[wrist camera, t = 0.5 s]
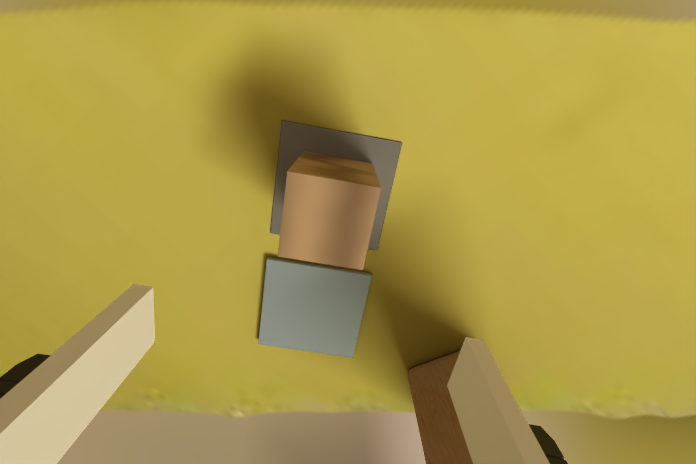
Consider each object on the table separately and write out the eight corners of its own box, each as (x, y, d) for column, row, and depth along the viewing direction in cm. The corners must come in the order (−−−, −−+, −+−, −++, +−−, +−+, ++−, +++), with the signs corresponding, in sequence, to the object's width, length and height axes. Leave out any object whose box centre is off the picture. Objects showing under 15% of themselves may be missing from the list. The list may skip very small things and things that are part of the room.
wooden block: (404, 367, 44) (443, 561, 26) (477, 340, 43) (575, 526, 24) (431, 417, 48) (483, 620, 29) (500, 394, 46) (602, 594, 28)
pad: (259, 341, 43) (258, 344, 42) (268, 256, 39) (266, 259, 38) (352, 354, 44) (352, 357, 43) (371, 273, 39) (371, 276, 39)
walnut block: (295, 215, 37) (277, 256, 27) (304, 150, 34) (287, 171, 25) (359, 226, 37) (362, 270, 28) (372, 163, 34) (381, 187, 25)
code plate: (270, 232, 37) (270, 233, 37) (282, 120, 33) (281, 120, 33) (377, 250, 38) (377, 250, 38) (402, 142, 34) (402, 142, 34)
